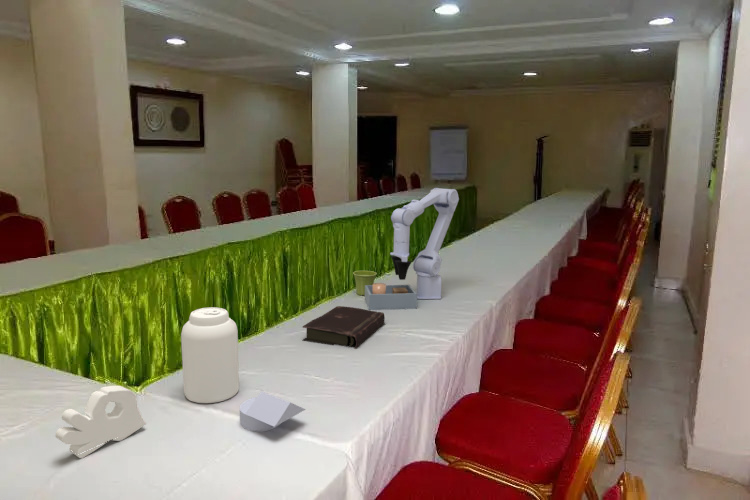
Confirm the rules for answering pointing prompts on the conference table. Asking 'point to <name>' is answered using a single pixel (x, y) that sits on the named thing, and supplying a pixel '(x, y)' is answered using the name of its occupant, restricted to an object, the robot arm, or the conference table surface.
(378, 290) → the terracotta cylinder
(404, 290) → the walnut cube
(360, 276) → the plant pot
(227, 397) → the can
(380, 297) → the box
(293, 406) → the wedge on round base
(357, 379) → the conference table surface
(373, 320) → the diary
